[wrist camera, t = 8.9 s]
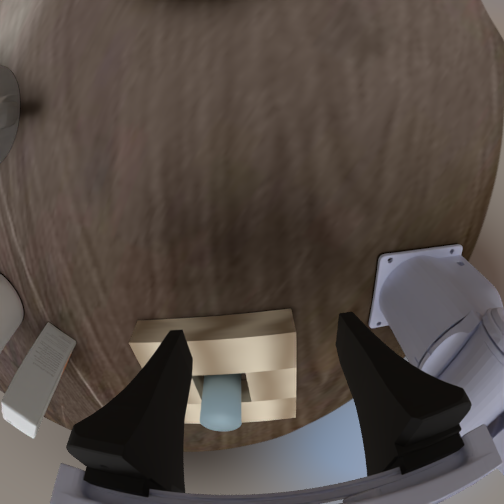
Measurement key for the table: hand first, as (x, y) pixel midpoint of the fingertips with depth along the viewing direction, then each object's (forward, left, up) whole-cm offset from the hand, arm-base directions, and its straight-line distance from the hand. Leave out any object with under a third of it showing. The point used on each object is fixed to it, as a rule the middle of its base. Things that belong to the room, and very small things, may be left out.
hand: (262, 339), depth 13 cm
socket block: (+5, +14, -10) cm, 17 cm away
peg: (+5, +13, -10) cm, 17 cm away
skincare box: (+24, +10, -10) cm, 28 cm away
